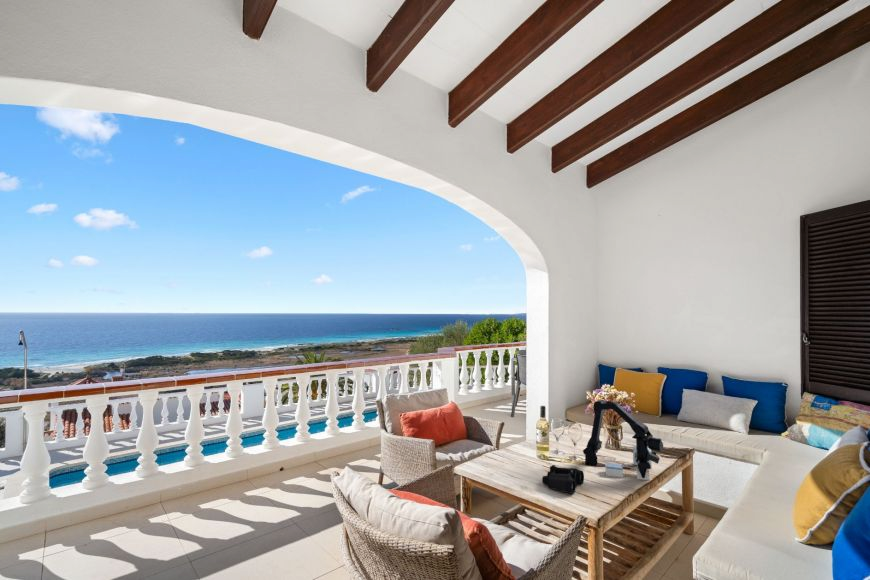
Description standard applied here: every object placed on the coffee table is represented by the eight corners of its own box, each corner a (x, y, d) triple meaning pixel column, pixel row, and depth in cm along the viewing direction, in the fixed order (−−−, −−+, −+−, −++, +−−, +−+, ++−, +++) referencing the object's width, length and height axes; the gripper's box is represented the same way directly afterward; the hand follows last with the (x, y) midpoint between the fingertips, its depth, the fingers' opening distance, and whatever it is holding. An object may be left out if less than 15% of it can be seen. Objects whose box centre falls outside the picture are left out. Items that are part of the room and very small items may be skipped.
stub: (637, 478, 226) (637, 469, 226) (636, 475, 231) (636, 466, 231) (649, 480, 224) (649, 470, 224) (648, 476, 229) (648, 467, 229)
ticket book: (605, 475, 231) (605, 466, 232) (605, 471, 237) (605, 462, 237) (624, 477, 228) (624, 468, 228) (624, 473, 234) (623, 464, 234)
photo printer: (653, 467, 242) (652, 446, 243) (650, 469, 239) (649, 448, 240) (635, 463, 250) (634, 442, 250) (632, 464, 247) (631, 444, 247)
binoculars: (571, 497, 205) (571, 477, 205) (537, 487, 217) (536, 468, 217) (587, 483, 222) (586, 464, 222) (554, 474, 234) (553, 456, 234)
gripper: (660, 454, 217) (661, 484, 216) (655, 444, 234) (656, 471, 233) (637, 452, 221) (638, 481, 220) (634, 441, 238) (635, 469, 237)
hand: (642, 476), depth 227 cm, fingers closed on stub, 5 cm apart
